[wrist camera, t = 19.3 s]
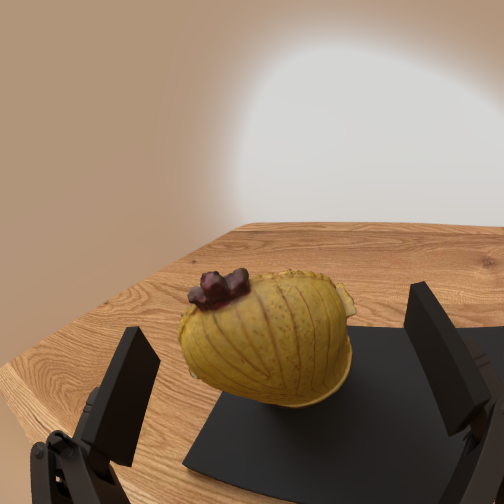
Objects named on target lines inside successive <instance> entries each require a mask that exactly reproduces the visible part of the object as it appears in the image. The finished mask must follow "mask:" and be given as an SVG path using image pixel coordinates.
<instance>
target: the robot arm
mask: <svg viewBox="0 0 504 504" xmlns="http://www.w3.org/2000/svg"><path fill="white" fill-rule="evenodd" d="M404 328H405V331H406V333H407V335H408V337H409V339H410V341H411V343H412V345H413V348H414V350H415V352H416V354H417V357H418V359H419V361H420V363H421V366H422V368H423V370H424V373H425V375H426V378H427V380H428V382H429V385H430V387H431V390H432V392H433V395H434V398H435V400H436V403H437V406H438V408H439V411H440V414H441V417H442V419H443V422H444V425H445V428H446V431H447V434H448V437H450V436H453V435H455V434H457V433H459V432H461V431H464V430H465V429H466V427H467V426H468V425H470V427H471V430H470V431H469V432H468V433H467V434H466V435H465V436H464V438H463V441H465V440H466V439H467V441H466V444H465V446H464V449H463V451H462V454H461V456H460V459H459V461H458V464H457V466H456V468H455V470H454V473H453V475H452V477H451V479H450V481H449V483H448V485H447V487H446V489H445V491H444V493H443V495H442V497H441V499H440V501H439V502H438V504H493V502H494V499H495V497H496V495H497V497H496V501H495V504H504V386H503V384H502V382H501V380H500V379H499V377H498V375H497V373H496V371H495V369H494V367H493V365H492V364H491V363H490V360H489V358H488V356H487V355H486V353H485V351H484V350H483V348H482V346H481V344H480V343H478V342H477V341H476V340H475V339H474V338H472V337H470V338H467V339H465V340H462V338H461V337H460V335H459V333H458V332H457V330H456V328H455V327H454V325H453V323H452V322H451V320H450V319H449V317H448V316H447V314H446V312H445V311H444V309H443V308H442V306H441V305H440V303H439V302H438V300H437V299H436V297H435V296H434V294H433V293H432V291H431V290H430V288H429V287H428V286H427V284H426V283H425V281H423V282H419V283H414V284H411V285H410V292H409V298H408V304H407V310H406V316H405V321H404ZM160 362H161V360H160V359H159V357H158V356H157V354H156V353H155V351H154V350H153V348H152V347H151V345H150V344H149V342H148V340H147V339H146V337H145V336H144V334H143V332H142V331H141V329H140V328H139V326H136V327H127V328H126V330H125V332H124V334H123V336H122V338H121V340H120V342H119V345H118V347H117V349H116V351H115V353H114V356H113V358H112V360H111V362H110V365H109V367H108V369H107V371H106V374H105V376H104V378H103V381H102V383H101V386H100V387H95V389H94V390H93V391H92V392H91V393H90V395H89V397H88V399H87V402H86V405H85V407H84V409H83V412H82V414H81V417H80V419H79V422H78V425H77V427H76V430H75V433H74V435H73V437H72V438H70V437H69V436H68V435H66V434H65V433H64V432H62V431H60V430H56V431H53V432H52V433H51V434H50V435H49V436H48V438H47V441H46V444H45V443H43V442H37V443H35V444H34V445H33V447H32V449H31V455H30V463H31V464H30V472H31V493H32V504H131V503H130V501H129V500H128V498H127V496H126V494H125V492H124V490H123V488H122V486H121V484H120V482H119V480H118V478H117V476H116V474H115V471H114V469H113V467H112V466H111V465H110V460H111V461H113V462H115V463H116V464H118V465H122V466H126V467H131V466H132V462H133V458H134V454H135V450H136V446H137V442H138V438H139V435H140V431H141V427H142V423H143V420H144V416H145V413H146V409H147V405H148V402H149V398H150V395H151V392H152V388H153V385H154V381H155V378H156V375H157V372H158V368H159V365H160ZM56 476H57V477H59V478H60V481H59V482H57V481H56Z"/></svg>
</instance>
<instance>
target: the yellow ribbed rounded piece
mask: <svg viewBox="0 0 504 504" xmlns="http://www.w3.org/2000/svg"><path fill="white" fill-rule="evenodd" d="M200 286H201V287H199V286H195V287H192V288H190V289H189V293H188V295H187V297H188V299H189V302H190V303H193V306H191V307H187V308H186V309H187V312H185V314H182V315H181V317H183V318H182V320H181V321H180V326H178V334H177V335H178V340H179V342H180V344H181V347H182V352H183V355H184V358H185V360H186V363H187V364H188V366H189V372H190V374H191V376H192V377H194V378H196V379H201V380H202V381H203V382H205V383H206V384H208V385H209V386H211V387H213V388H215V389H219V390H221V391H224V392H227V393H231V394H234V395H237V396H241V397H245V398H248V399H253V400H256V401H259V402H263V403H269V404H274V405H276V406H278V407H280V408H283V409H303V408H307V407H310V406H313V405H315V404H318V403H320V402H322V401H323V400H325V399H326V398H327V397H329V396H330V395H332V394H333V393H335V392H337V391H338V390H339V389H340V388H341V387H342V386H343V384H344V383H345V381H346V380H347V378H348V376H349V375H350V372H351V367H352V363H353V351H352V347H351V344H350V339H349V336H348V334H347V326H346V322H347V318H348V317H349V316H353V315H355V314H356V308H355V307H354V301H353V298H352V297H351V296H350V295H349V294H348V292H347V291H346V290H345V288H344V284H343V283H340V284H339V283H338V284H337V285H336V286H335V284H334V283H333V282H332V280H331V279H330V278H329V277H328V276H325V275H322V274H320V273H319V274H315V273H314V272H312V271H311V272H309V271H306V272H302V271H300V270H298V271H297V272H295V271H293V272H291V269H289V270H288V271H286V272H285V271H284V272H280V273H279V275H278V276H275V275H274V274H273V273H267V274H263V275H259V274H257V275H254V276H253V277H252V278H250V279H249V274H248V271H247V269H245V268H239V269H236V270H234V271H233V273H230V274H228V275H227V276H224V277H222V276H221V275H219V273H218V272H217V271H214V272H207V273H203V274H202V277H201V283H200Z"/></svg>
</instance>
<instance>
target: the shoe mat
mask: <svg viewBox="0 0 504 504" xmlns="http://www.w3.org/2000/svg"><path fill="white" fill-rule="evenodd" d="M456 330H457V332H458V333H459V335H460V337H461V338H462V340H465V339H467V338H470V337H472V338H474V339H475V340H476V341H477V342H478V343H480V344H481V346H482V348H483V350H484V351H485V353H486V355H487V356H488V358H489V360H490V363H491V364H492V365H493V367H494V369H495V371H496V373H497V375H498V377H499V379H500V380H501V382H502V384H503V386H504V326H499V327H478V328H456ZM347 334H348V336H349V339H350V344H351V347H352V351H353V363H352V367H351V372H350V375H349V376H348V378H347V380H346V381H345V383H344V384H343V386H342V387H341V388H340V389H339V390H338V391H337V392H335V393H333V394H332V395H330V396H329V397H327V398H326V399H325V400H323V401H322V402H320V403H318V404H315V405H313V406H310V407H307V408H303V409H283V408H280V407H278V406H276V405H274V404H269V403H263V402H259V401H256V400H253V399H248V398H245V397H241V396H237V395H234V394H231V393H227V392H224V391H223V392H222V393H221V395H220V397H219V399H218V401H217V403H216V404H215V406H214V408H213V410H212V412H211V413H210V415H209V417H208V419H207V421H206V422H205V424H204V426H203V428H202V429H201V431H200V433H199V435H198V437H197V438H196V440H195V442H194V444H193V445H192V447H191V449H190V450H189V452H188V454H187V456H186V457H185V459H184V461H183V462H182V464H183V465H184V466H186V467H188V468H190V469H192V470H194V471H197V472H199V473H201V474H204V475H206V476H209V477H211V478H214V479H217V480H219V481H222V482H225V483H227V484H230V485H233V486H236V487H239V488H242V489H245V490H248V491H252V492H255V493H259V494H262V495H266V496H269V497H273V498H277V499H281V500H286V501H290V502H295V503H300V504H438V502H439V501H440V499H441V497H442V495H443V493H444V491H445V489H446V487H447V485H448V483H449V481H450V479H451V477H452V475H453V473H454V470H455V468H456V466H457V464H458V461H459V459H460V456H461V454H462V451H463V449H464V446H465V444H466V441H467V439H466V440H465V441H463V438H464V436H465V435H466V434H467V433H468V432H469V431H470V430H471V427H470V425H468V426H467V427H466V429H465V430H464V431H461V432H459V433H457V434H455V435H453V436H450V437H448V434H447V431H446V428H445V425H444V422H443V419H442V417H441V414H440V411H439V408H438V406H437V403H436V400H435V398H434V395H433V392H432V390H431V387H430V385H429V382H428V380H427V378H426V375H425V373H424V370H423V368H422V366H421V363H420V361H419V359H418V357H417V354H416V352H415V350H414V348H413V345H412V343H411V341H410V339H409V337H408V335H407V333H406V331H405V328H388V327H364V326H347ZM496 497H497V495H496ZM496 497H495V499H496ZM495 499H494V500H495Z"/></svg>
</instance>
